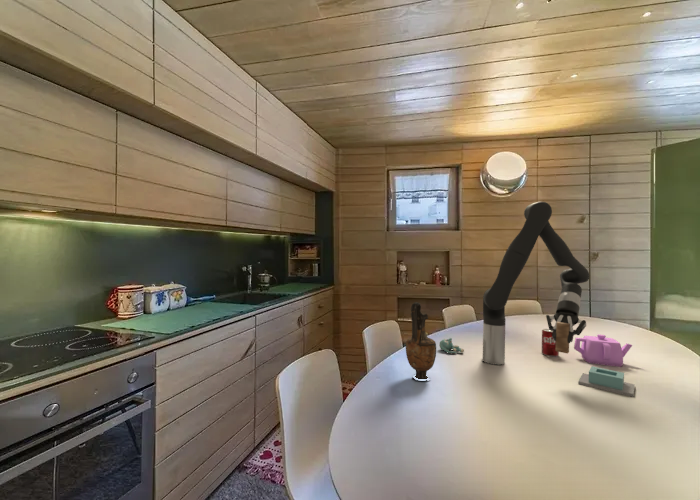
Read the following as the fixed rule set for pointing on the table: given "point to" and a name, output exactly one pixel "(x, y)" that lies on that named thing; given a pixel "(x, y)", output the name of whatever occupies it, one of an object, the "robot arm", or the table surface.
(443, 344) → the stuffed animal
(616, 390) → the teal and grey socket
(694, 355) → the table surface
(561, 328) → the block
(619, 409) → the table surface
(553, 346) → the soda can
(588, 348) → the teakettle
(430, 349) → the vase
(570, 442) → the table surface
